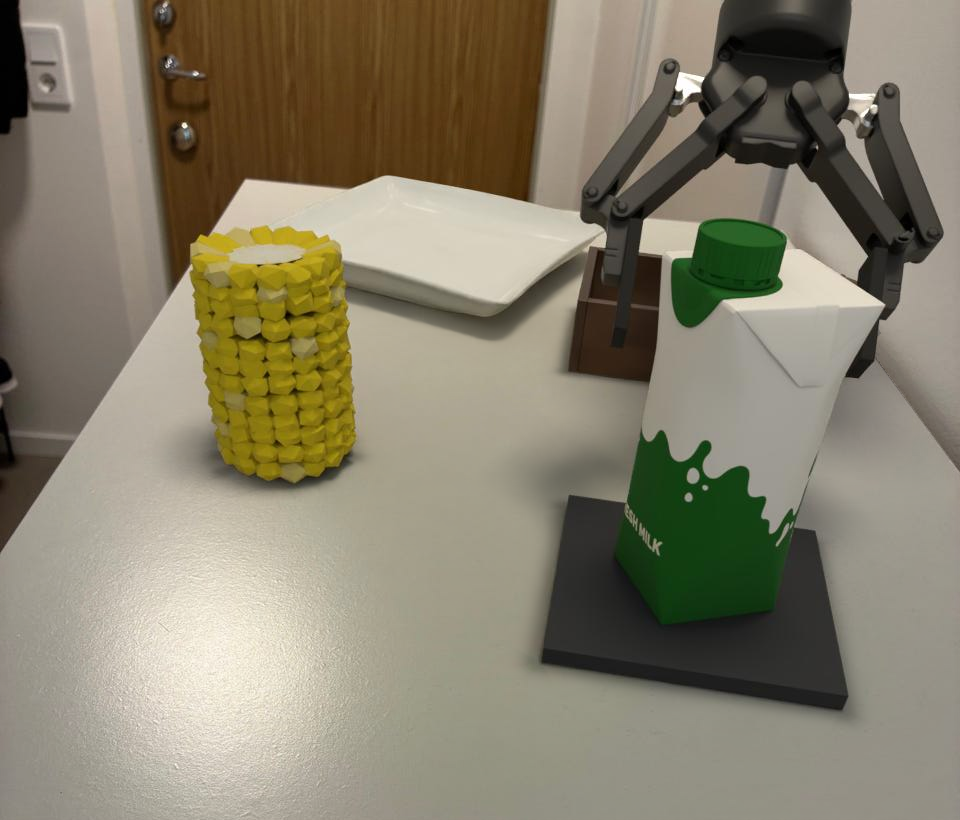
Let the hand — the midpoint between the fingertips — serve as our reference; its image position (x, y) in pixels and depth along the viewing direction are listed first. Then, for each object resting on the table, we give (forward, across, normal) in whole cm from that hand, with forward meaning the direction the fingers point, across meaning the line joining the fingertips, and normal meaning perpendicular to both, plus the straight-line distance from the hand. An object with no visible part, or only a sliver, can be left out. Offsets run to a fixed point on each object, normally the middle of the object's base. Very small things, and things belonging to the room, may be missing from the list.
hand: (737, 354), depth 56 cm
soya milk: (+13, 0, -3) cm, 13 cm away
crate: (-12, +3, -29) cm, 32 cm away
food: (+6, +28, -11) cm, 31 cm away
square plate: (-22, +25, -39) cm, 51 cm away
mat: (+14, 0, -4) cm, 14 cm away
